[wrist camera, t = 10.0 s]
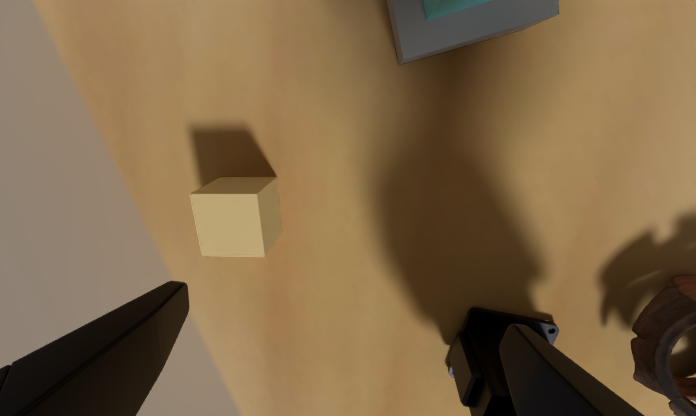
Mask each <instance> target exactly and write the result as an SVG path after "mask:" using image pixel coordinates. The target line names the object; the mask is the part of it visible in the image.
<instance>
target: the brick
mask: <svg viewBox="0 0 696 416" xmlns="http://www.w3.org/2000/svg"><path fill="white" fill-rule="evenodd" d="M190 199H191V204H192V209H193V214H194V219H195V224H196V229H197V234H198V239H199V244H200V249H201V254H202V256H232V257H265V256H266V255H267V253H268V252H269V250H270V249H271V247H272V246H273V245H274V243H275V242H276V240H277V239H278V237H279V236H280V234H281V233H282V231H283V229H282V219H281V209H280V200H279V190H278V180H277V177H220V178H218V179H216V180H214V181H212V182H211V183H209V184H207V185H205V186H203V187H201V188H200V189H198V190H196V191H194V192H192V193H190Z"/></svg>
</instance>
